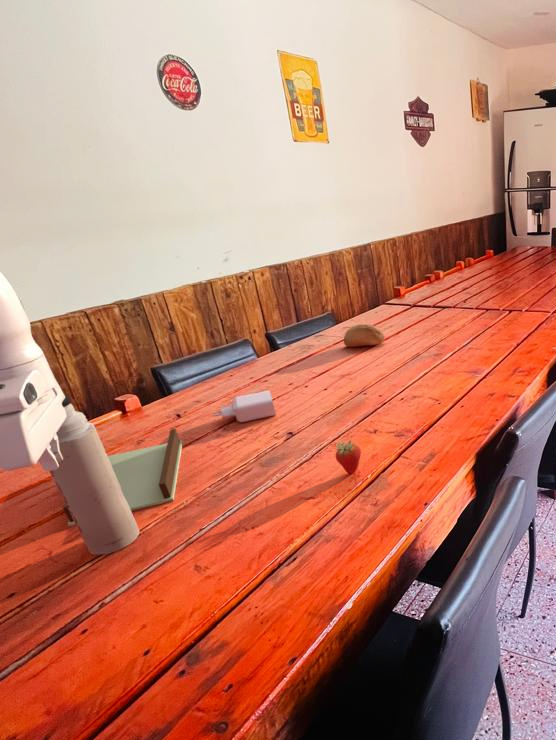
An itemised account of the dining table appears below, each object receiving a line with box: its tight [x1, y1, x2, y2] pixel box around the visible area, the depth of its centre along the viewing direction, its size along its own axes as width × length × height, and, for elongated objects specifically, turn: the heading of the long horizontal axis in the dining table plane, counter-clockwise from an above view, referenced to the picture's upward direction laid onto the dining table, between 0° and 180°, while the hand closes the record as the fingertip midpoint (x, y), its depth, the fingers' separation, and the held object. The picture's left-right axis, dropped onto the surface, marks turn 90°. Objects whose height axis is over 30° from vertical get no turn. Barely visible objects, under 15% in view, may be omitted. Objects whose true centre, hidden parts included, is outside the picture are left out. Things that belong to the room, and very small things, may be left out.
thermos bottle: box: [48, 395, 140, 556], centre depth 87 cm, size 8×8×28 cm
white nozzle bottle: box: [212, 389, 277, 423], centre depth 138 cm, size 5×9×15 cm
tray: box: [62, 428, 183, 527], centre depth 111 cm, size 18×28×4 cm, turn 24°
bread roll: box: [343, 323, 385, 348], centre depth 189 cm, size 10×15×8 cm, turn 98°
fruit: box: [334, 439, 362, 475], centre depth 109 cm, size 5×5×8 cm
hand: (54, 466), depth 77 cm, fingers closed
